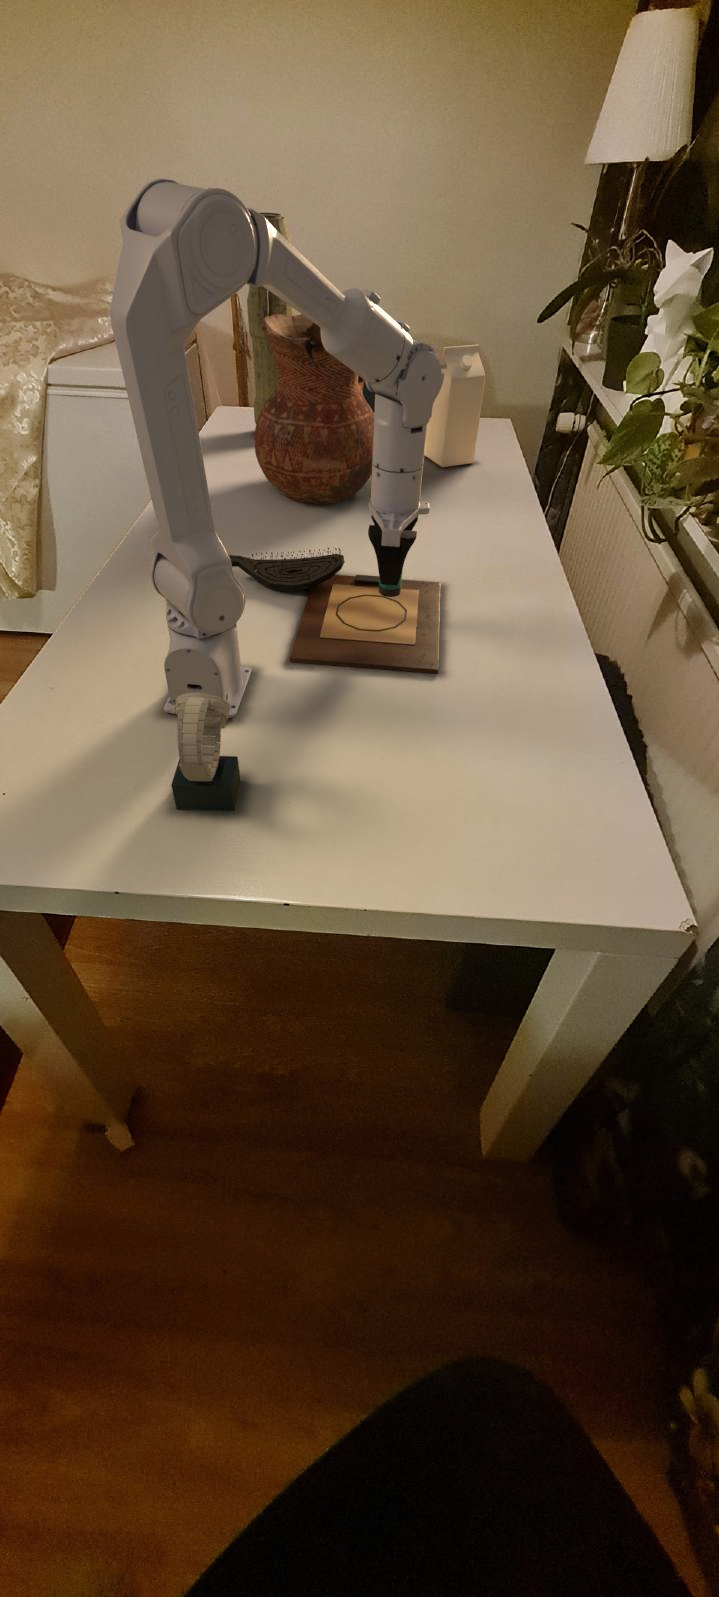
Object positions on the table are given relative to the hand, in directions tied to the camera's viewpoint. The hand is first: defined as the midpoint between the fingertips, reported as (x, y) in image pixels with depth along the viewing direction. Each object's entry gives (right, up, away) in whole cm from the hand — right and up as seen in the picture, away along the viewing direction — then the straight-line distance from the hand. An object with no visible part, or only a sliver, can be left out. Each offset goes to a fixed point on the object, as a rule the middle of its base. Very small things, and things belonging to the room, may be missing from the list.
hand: (390, 577), depth 89 cm
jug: (-11, +27, +36) cm, 47 cm away
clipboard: (-2, -4, +5) cm, 7 cm away
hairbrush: (-18, +4, +12) cm, 22 cm away
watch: (-19, -27, -20) cm, 38 cm away
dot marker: (0, -1, +1) cm, 2 cm away
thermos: (-21, +47, +56) cm, 76 cm away
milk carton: (+13, +38, +49) cm, 63 cm away
